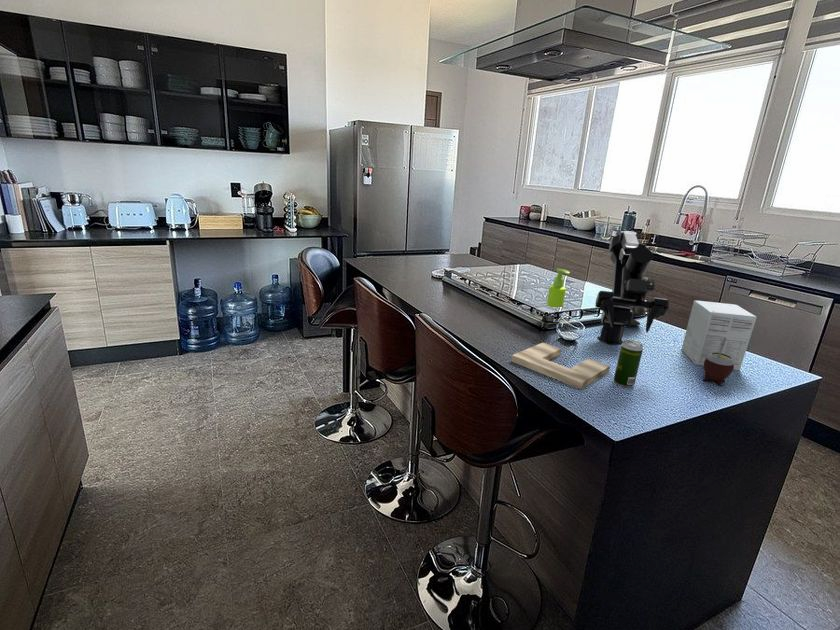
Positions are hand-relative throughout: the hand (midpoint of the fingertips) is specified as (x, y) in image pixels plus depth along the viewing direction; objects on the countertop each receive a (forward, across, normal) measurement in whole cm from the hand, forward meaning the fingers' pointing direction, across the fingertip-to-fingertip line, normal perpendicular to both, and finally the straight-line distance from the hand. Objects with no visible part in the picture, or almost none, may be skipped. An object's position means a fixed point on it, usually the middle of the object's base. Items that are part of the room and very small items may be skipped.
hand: (629, 329), depth 129 cm
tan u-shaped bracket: (+12, -17, +7) cm, 22 cm away
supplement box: (-7, +30, +26) cm, 40 cm away
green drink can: (+15, 0, +4) cm, 16 cm away
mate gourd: (+6, +26, +13) cm, 29 cm away
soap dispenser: (-19, -19, +38) cm, 46 cm away
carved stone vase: (-26, +8, +44) cm, 51 cm away
